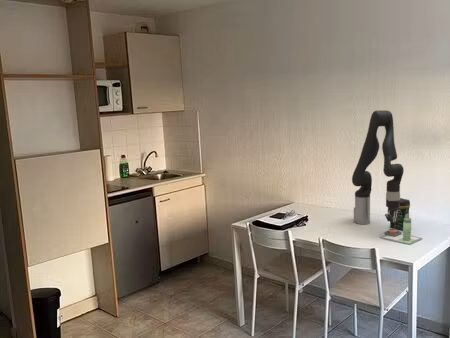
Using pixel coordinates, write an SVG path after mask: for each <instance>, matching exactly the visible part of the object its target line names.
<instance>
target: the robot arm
mask: <svg viewBox="0 0 450 338" xmlns="http://www.w3.org/2000/svg"><path fill="white" fill-rule="evenodd" d="M369 119H370V120H369V124H368V129H367V133H366V137H365V139H364V140H365V141H364V143H363V145H362V148H361V153H360V156H359V159H358V162H357V165H356V166H355V169H354V171H353V173H352V177H351V181H352V185H353V186H355V187H359V189H357V190H356V191H355V192H354V207H353V223H355V224H358V225H369V224H370V223H371V193H372V184H373V177H372V174H371V173H370V171H369V170H367V169H368V167H369V166H370V165H371V164H372V163H373V162H374V160H375V159H376V158H377V156H378V152H379V150H380V142H379V138H378V136H377V132H378V129H379V128H380V127H384V129H385V136H384V137H383V140H382V146H381V150H382V154H383V162H384V163H383V168H382V169H383V174H384V175H385V176H386V177H389V178H390V177H393V178H392V179H389V180H388V181H386V194H385V207H387V213H385V214H384V217H385V218H386V220H387V222H389V229H396V228H395V222H396V220H397V219H398V217H399V214H400V211H399V210H398V208H399V207H400V198H401V191H400V190H401V183H402V178H403V175H404V167H403V165H402V164H401V163H392V162H393V161H395V160H397V158H398V154H397V150H396V149H397V148H396V144H395V132H394V129H395V128H394V117H393V113H392V112H391V111H390V110H375V111H373V112H372V113H371V115H370V118H369Z"/></svg>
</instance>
